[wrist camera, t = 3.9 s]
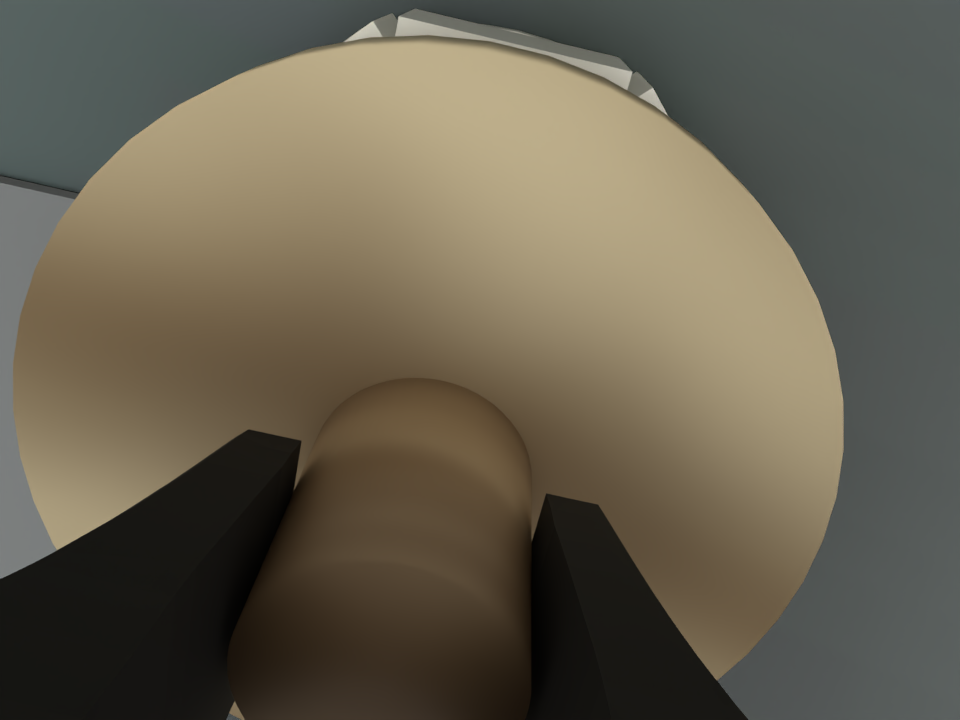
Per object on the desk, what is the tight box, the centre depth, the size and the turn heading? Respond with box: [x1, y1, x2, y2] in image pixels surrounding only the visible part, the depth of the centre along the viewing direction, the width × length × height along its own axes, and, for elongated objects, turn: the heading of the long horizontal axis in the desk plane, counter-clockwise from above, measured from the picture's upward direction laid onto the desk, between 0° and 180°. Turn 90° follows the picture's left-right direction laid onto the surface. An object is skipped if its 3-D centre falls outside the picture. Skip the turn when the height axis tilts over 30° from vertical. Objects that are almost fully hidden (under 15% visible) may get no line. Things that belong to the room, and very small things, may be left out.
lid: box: [13, 35, 843, 720], centre depth 10 cm, size 10×10×4 cm
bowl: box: [344, 9, 668, 116], centre depth 17 cm, size 10×10×3 cm
